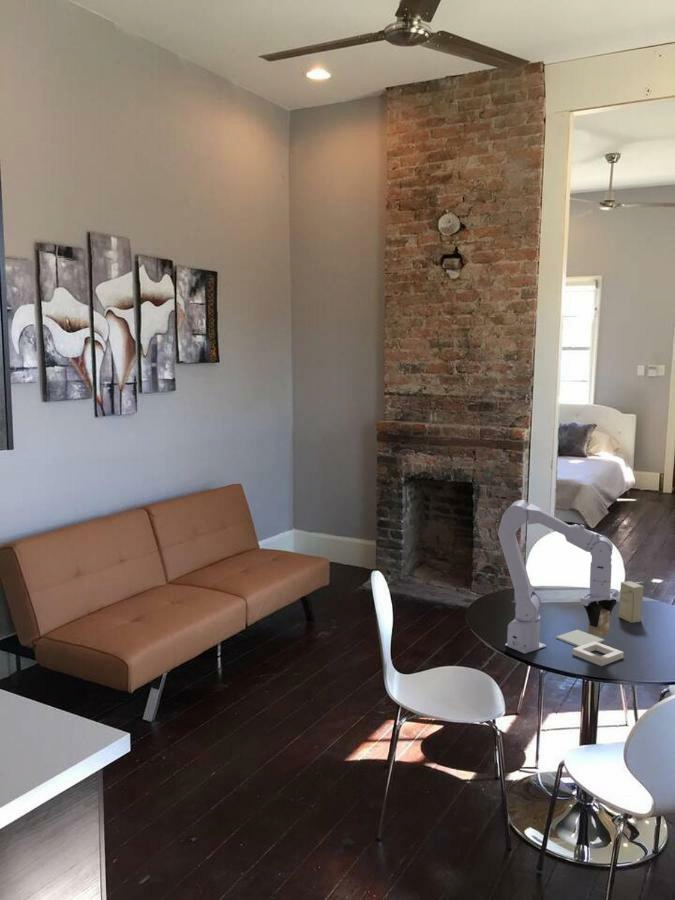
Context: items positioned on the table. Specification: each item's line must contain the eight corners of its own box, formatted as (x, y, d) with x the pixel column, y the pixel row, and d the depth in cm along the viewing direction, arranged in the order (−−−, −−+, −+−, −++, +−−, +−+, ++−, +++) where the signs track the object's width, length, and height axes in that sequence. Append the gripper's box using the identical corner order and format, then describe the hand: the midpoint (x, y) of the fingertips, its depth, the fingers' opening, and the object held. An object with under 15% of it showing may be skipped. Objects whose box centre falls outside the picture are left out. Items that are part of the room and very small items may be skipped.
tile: (582, 648, 221) (583, 646, 221) (556, 638, 229) (556, 636, 229) (604, 641, 226) (604, 639, 226) (577, 631, 235) (577, 629, 235)
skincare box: (618, 617, 247) (619, 581, 245) (629, 615, 248) (630, 580, 247) (631, 623, 241) (633, 587, 240) (642, 621, 243) (644, 585, 241)
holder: (601, 666, 209) (601, 660, 208) (572, 654, 217) (572, 648, 217) (623, 657, 214) (623, 652, 214) (594, 646, 222) (594, 641, 222)
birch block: (600, 637, 212) (600, 613, 211) (588, 633, 215) (589, 609, 214) (608, 634, 214) (609, 611, 213) (597, 630, 217) (598, 607, 216)
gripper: (595, 587, 205) (594, 634, 207) (628, 578, 213) (626, 623, 215) (575, 580, 211) (573, 626, 213) (607, 572, 219) (605, 616, 221)
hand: (598, 624), depth 214 cm, fingers closed on birch block, 4 cm apart
